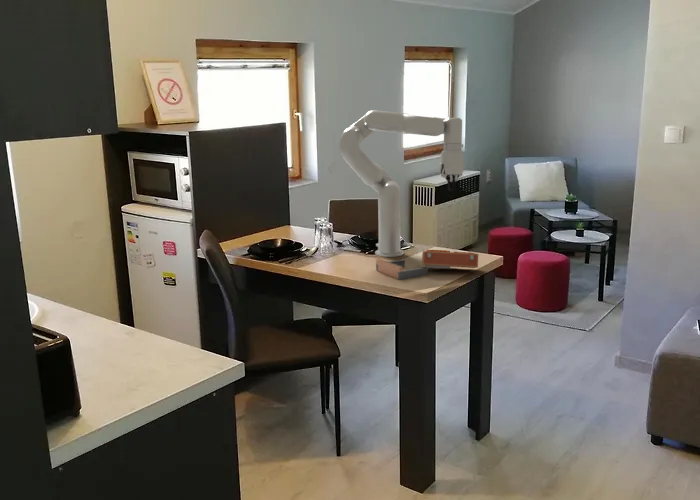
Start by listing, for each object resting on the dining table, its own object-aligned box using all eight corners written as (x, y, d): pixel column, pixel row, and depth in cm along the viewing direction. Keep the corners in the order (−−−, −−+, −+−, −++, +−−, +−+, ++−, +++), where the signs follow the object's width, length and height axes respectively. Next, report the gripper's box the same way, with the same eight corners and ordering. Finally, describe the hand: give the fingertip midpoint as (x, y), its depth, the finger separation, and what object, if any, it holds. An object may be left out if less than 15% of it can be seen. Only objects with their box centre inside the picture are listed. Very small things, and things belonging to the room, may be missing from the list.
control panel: (475, 253, 268) (479, 251, 253) (474, 270, 268) (478, 269, 253) (422, 250, 270) (423, 248, 255) (421, 267, 270) (422, 266, 255)
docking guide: (376, 271, 264) (376, 259, 263) (403, 266, 271) (403, 254, 270) (399, 279, 251) (399, 267, 250) (427, 274, 257) (427, 262, 256)
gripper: (460, 146, 284) (459, 188, 288) (432, 147, 277) (432, 191, 281) (472, 147, 278) (470, 190, 282) (444, 148, 271) (443, 192, 275)
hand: (451, 190), depth 282 cm, fingers closed
